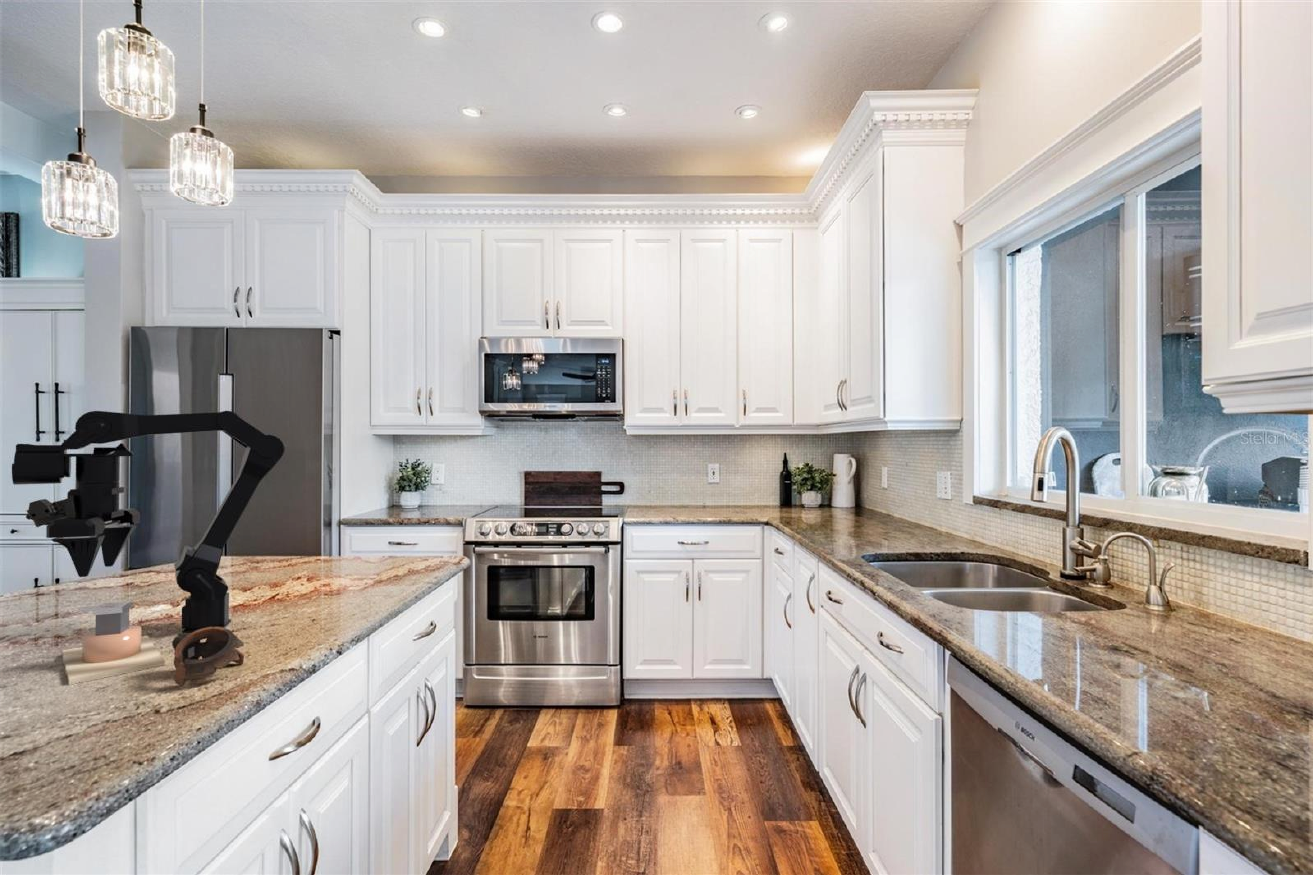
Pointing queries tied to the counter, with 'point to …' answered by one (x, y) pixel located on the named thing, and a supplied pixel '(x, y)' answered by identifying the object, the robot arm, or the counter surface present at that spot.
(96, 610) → the pump head
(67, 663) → the birch board
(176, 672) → the brown ring stand
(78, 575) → the robot arm
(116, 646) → the pump jar
